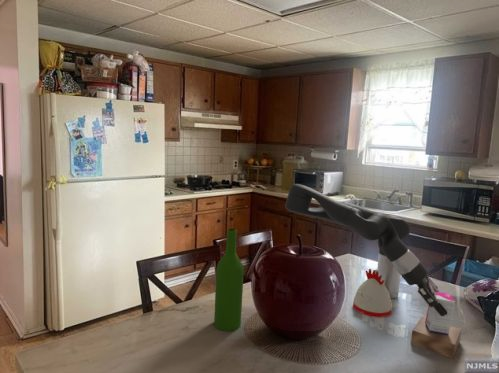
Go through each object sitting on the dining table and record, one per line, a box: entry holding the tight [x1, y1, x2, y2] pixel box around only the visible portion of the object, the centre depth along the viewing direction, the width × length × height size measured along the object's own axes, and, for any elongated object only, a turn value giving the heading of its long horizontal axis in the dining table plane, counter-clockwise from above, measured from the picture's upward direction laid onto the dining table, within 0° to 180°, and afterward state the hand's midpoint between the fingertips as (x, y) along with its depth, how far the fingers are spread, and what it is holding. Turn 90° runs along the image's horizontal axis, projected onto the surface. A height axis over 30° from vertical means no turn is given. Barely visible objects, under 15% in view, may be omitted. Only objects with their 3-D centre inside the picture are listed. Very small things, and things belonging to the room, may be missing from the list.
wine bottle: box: [213, 228, 245, 332], centre depth 121 cm, size 9×9×32 cm
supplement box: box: [425, 291, 456, 335], centre depth 117 cm, size 6×6×12 cm
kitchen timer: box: [352, 268, 393, 318], centre depth 140 cm, size 14×14×15 cm
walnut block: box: [410, 316, 462, 359], centre depth 118 cm, size 12×12×5 cm
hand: (444, 309), depth 116 cm, fingers open, 8 cm apart
